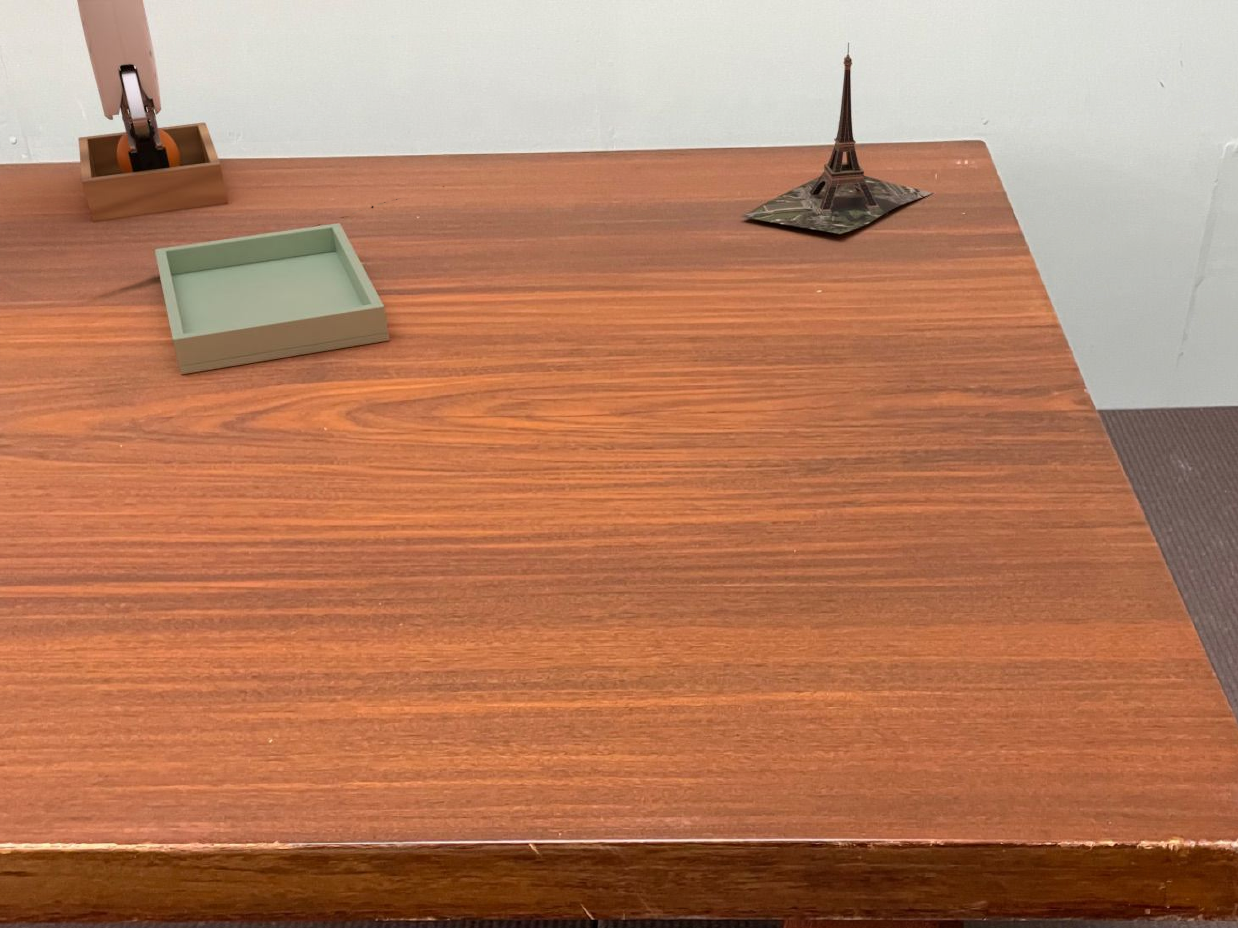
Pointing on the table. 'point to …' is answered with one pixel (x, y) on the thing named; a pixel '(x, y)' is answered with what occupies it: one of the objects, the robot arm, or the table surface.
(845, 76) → the eiffel tower figurine
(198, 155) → the wooden box
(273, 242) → the tray
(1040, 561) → the table surface
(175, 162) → the orange
